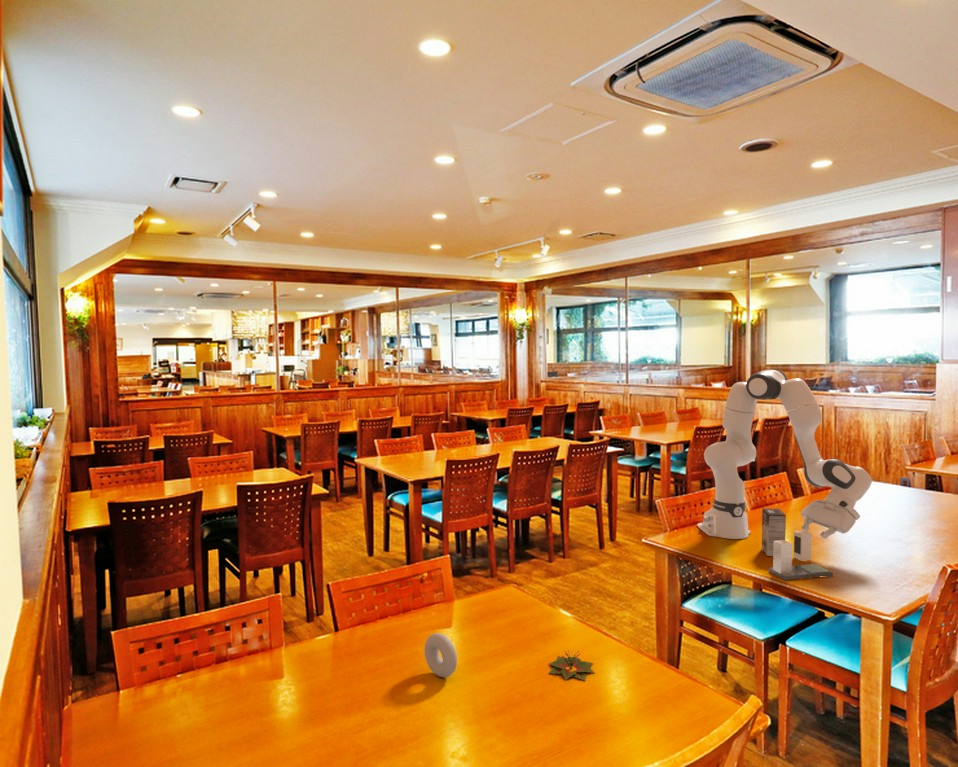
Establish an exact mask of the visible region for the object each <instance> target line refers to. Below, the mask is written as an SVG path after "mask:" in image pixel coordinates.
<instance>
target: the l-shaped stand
mask: <svg viewBox="0 0 958 767" xmlns="http://www.w3.org/2000/svg"><path fill="white" fill-rule="evenodd" d="M772 558H773V559H772V560H773V561H772V567H769V568H768V572H769V573H770V572H771V573H770V574H772V573H773V574H772V575H774V576H775V575H776V577H777V576H778V577H777V578H779V577H780V578H779V579H781V578H782V579H781V580H783V581H791V580H790V579H797V580H801V579H800V578H809V579H811V578H810V577H820V576H834V574H833V573H834V572H833V571H831V570H828V569H827V568H824V567H823V566H820V565H818V564H816V563H814V564H813V563H812V564H800V565H799V564H798V565H792V564H793V543H792V542H789V541H787V540H786V539H785V540H778V541H774V542H773V557H772Z"/></svg>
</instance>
